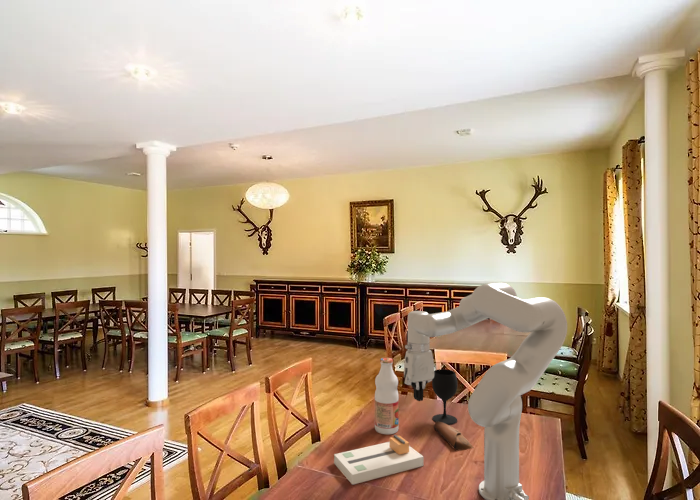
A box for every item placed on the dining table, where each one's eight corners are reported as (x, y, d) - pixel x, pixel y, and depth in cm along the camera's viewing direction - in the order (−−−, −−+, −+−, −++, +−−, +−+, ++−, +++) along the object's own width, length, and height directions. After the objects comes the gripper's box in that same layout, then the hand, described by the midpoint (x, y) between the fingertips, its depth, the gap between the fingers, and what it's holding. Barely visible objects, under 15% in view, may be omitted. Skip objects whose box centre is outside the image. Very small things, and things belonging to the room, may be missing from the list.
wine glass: (430, 423, 170) (430, 374, 170) (433, 413, 180) (433, 367, 180) (457, 426, 167) (456, 376, 167) (458, 416, 177) (457, 369, 177)
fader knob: (399, 444, 144) (399, 433, 144) (409, 452, 138) (409, 440, 138) (389, 447, 142) (389, 435, 142) (398, 454, 136) (398, 443, 136)
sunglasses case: (476, 447, 148) (467, 432, 147) (460, 459, 147) (451, 444, 146) (452, 427, 166) (445, 413, 165) (438, 437, 164) (430, 424, 164)
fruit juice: (371, 426, 167) (371, 356, 167) (393, 423, 169) (393, 355, 169) (378, 436, 158) (378, 362, 158) (402, 433, 160) (402, 361, 160)
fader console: (400, 447, 148) (400, 438, 148) (423, 465, 136) (423, 456, 136) (334, 463, 137) (334, 454, 137) (352, 484, 125) (352, 474, 125)
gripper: (406, 351, 137) (406, 406, 137) (442, 347, 143) (442, 400, 143) (394, 346, 144) (394, 399, 144) (429, 342, 150) (429, 393, 150)
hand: (418, 399), depth 144 cm, fingers closed
